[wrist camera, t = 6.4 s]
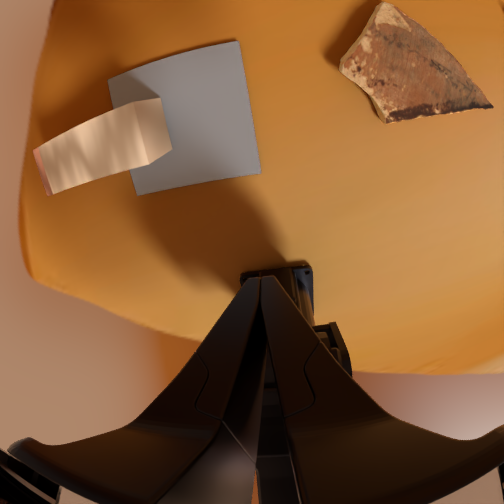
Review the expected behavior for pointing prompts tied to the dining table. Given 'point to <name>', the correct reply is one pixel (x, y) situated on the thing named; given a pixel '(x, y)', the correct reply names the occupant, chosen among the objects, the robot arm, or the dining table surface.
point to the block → (104, 146)
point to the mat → (195, 117)
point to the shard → (408, 70)
